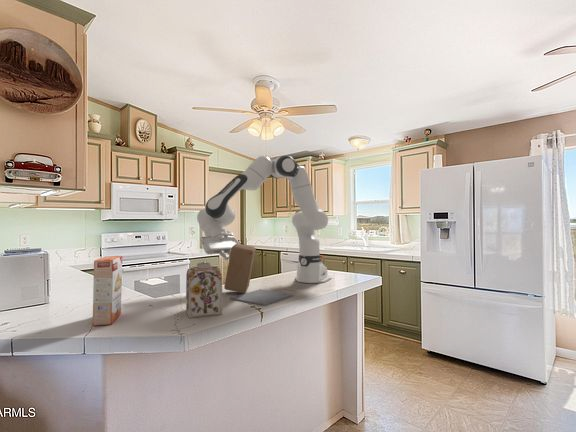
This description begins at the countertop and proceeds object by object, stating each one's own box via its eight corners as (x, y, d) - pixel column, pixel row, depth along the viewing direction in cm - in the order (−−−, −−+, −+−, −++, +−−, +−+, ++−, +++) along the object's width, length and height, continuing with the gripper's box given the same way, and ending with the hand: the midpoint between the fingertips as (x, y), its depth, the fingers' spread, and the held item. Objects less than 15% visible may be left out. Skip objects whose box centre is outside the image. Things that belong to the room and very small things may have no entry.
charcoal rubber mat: (260, 290, 151) (260, 289, 151) (293, 295, 140) (293, 294, 140) (229, 299, 134) (229, 297, 134) (264, 306, 123) (264, 304, 123)
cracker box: (113, 325, 101) (113, 259, 101) (91, 326, 99) (92, 260, 100) (122, 312, 115) (123, 255, 115) (103, 314, 113) (104, 255, 113)
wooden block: (245, 294, 141) (253, 250, 139) (223, 289, 141) (231, 246, 139) (248, 287, 151) (256, 246, 149) (228, 283, 151) (235, 242, 149)
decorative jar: (185, 309, 119) (186, 261, 119) (217, 306, 123) (217, 260, 123) (188, 318, 108) (188, 265, 108) (222, 315, 112) (222, 264, 112)
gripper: (202, 232, 144) (215, 255, 138) (234, 232, 161) (248, 253, 155) (195, 241, 147) (208, 265, 141) (228, 240, 163) (241, 261, 157)
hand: (229, 258), depth 148 cm, fingers closed
